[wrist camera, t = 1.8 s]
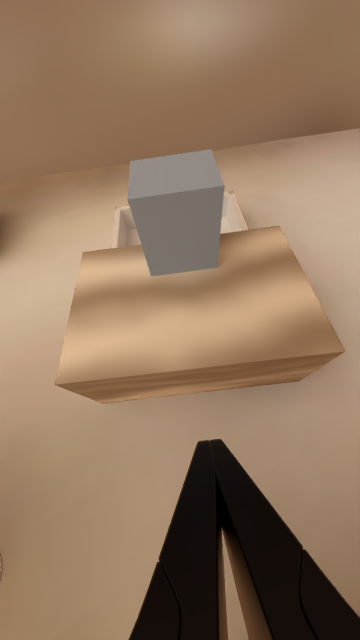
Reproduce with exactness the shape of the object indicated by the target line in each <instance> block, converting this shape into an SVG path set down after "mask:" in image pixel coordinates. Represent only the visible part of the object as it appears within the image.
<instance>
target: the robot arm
mask: <svg viewBox="0 0 360 640" xmlns="http://www.w3.org/2000/svg"><path fill="white" fill-rule="evenodd" d="M221 526H222V527H221ZM222 531H223V535H224V539H225V543H226V547H227V551H228V556H229V560H230V564H231V568H232V572H233V576H234V580H235V584H236V588H237V592H238V596H239V600H240V605H241V609H242V613H243V617H244V621H245V625H246V629H247V633H248V637H249V640H360V617H359V616H358V615H357V614H356V612H355V611H354V610H353V609H352V608H351V607H350V605H349V604H348V603H347V602H346V601H345V599H344V598H343V597H342V596H341V594H340V593H339V592H338V591H337V589H336V588H335V587H334V586H333V584H332V583H331V582H330V581H329V579H328V578H327V577H326V575H325V574H324V573H323V572H322V570H321V569H320V568H319V567H318V565H317V564H316V563H315V561H314V560H313V559H312V557H311V556H310V555H309V553H308V552H307V551H306V550H305V549H303V546H302V545H301V543H300V542H299V541H298V539H297V538H296V537H295V535H294V534H293V533H292V531H291V530H290V529H289V527H288V526H287V525H286V524H285V522H284V521H283V520H282V518H281V517H280V516H279V514H278V513H277V512H276V510H275V509H274V508H273V507H272V505H271V504H270V503H269V501H268V500H267V499H266V497H265V496H264V495H263V493H262V492H261V491H260V489H259V488H258V487H257V486H256V484H255V483H254V482H253V480H252V479H251V478H250V476H249V475H248V474H247V472H246V471H245V470H244V468H243V467H242V466H241V465H240V463H239V462H238V461H237V459H236V458H235V457H234V455H233V454H232V453H231V451H230V450H229V449H228V448H227V446H226V445H225V444H224V442H223V441H222V440H221V439H214V440H210V441H209V440H205V441H199V442H198V443H197V446H196V448H195V451H194V454H193V457H192V460H191V463H190V466H189V469H188V472H187V475H186V478H185V481H184V484H183V487H182V490H181V493H180V496H179V499H178V502H177V505H176V508H175V511H174V514H173V517H172V520H171V523H170V526H169V529H168V532H167V535H166V538H165V541H164V544H163V547H162V550H161V553H160V556H159V562H157V564H156V567H155V570H154V573H153V576H152V579H151V582H150V585H149V588H148V590H147V593H146V596H145V599H144V601H143V604H142V607H141V610H140V612H139V615H138V618H137V620H136V623H135V625H134V628H133V630H132V633H131V635H130V638H129V640H228V632H227V614H226V597H225V579H224V561H223V543H222Z"/></svg>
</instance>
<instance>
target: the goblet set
mask: <svg viewBox="0 0 360 640" xmlns="http://www.w3.org/2000/svg"><path fill="white" fill-rule="evenodd" d="M1 575H2V559H1V555H0V580H1Z"/></svg>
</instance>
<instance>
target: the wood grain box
mask: <svg viewBox="0 0 360 640" xmlns="http://www.w3.org/2000/svg"><path fill="white" fill-rule="evenodd" d="M343 352H345V350H344V348H343V346H342V344H341V342H340V340H339V338H338V336H337V335H336V333H335V331H334V329H333V327H332V325H331V323H330V321H329V319H328V317H327V316H326V314H325V312H324V310H323V308H322V306H321V304H320V302H319V300H318V298H317V297H316V295H315V293H314V291H313V289H312V287H311V285H310V283H309V281H308V279H307V278H306V276H305V274H304V272H303V270H302V268H301V266H300V264H299V262H298V260H297V259H296V257H295V255H294V253H293V251H292V249H291V247H290V245H289V243H288V241H287V240H286V238H285V236H284V234H283V232H282V230H281V228H280V226H274V227H266V228H259V229H252V230H244V231H237V232H229V233H222V234H220V242H219V253H218V264H217V268H213V269H205V270H197V271H189V272H182V273H174V274H166V275H159V276H151V275H150V271H149V268H148V265H147V261H146V258H145V255H144V252H143V248H142V245H133V246H126V247H119V248H111V249H104V250H96V251H89V252H83V254H82V259H81V263H80V268H79V273H78V278H77V282H76V287H75V292H74V296H73V301H72V306H71V310H70V315H69V320H68V324H67V329H66V334H65V339H64V343H63V348H62V353H61V357H60V362H59V367H58V371H57V376H56V381H55V385H57V386H59V387H62V388H64V389H67V390H69V391H72V392H75V393H77V394H80V395H82V396H85V397H87V398H90V399H92V400H95V401H98V402H100V403H107V402H116V401H125V400H134V399H143V398H152V397H161V396H170V395H179V394H188V393H197V392H206V391H215V390H224V389H233V388H242V387H251V386H260V385H269V384H278V383H287V382H296V381H299V380H301V379H302V378H304V377H306V376H307V375H309V374H310V373H312V372H313V371H315V370H317V369H318V368H320V367H321V366H323V365H324V364H326V363H328V362H329V361H331V360H332V359H334V358H336V357H337V356H339V355H340V354H342V353H343Z"/></svg>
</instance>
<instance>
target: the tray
mask: <svg viewBox="0 0 360 640" xmlns="http://www.w3.org/2000/svg"><path fill="white" fill-rule="evenodd" d="M244 230H248V227H247V225H246V222H245V220H244V217H243V215H242V212H241V210H240V207H239V205H238V202H237V200H236V197H235V195H234V192H233V191H228V192H224V197H223V208H222V219H221V231H220V234H222V233H229V232H237V231H244ZM133 245H141V242H140V239H139V235H138V232H137V229H136V225H135V222H134V219H133V216H132V212H131V209H130V206H122V207H116V209H115V218H114V226H113V235H112V243H111V248H119V247H126V246H133Z"/></svg>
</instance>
